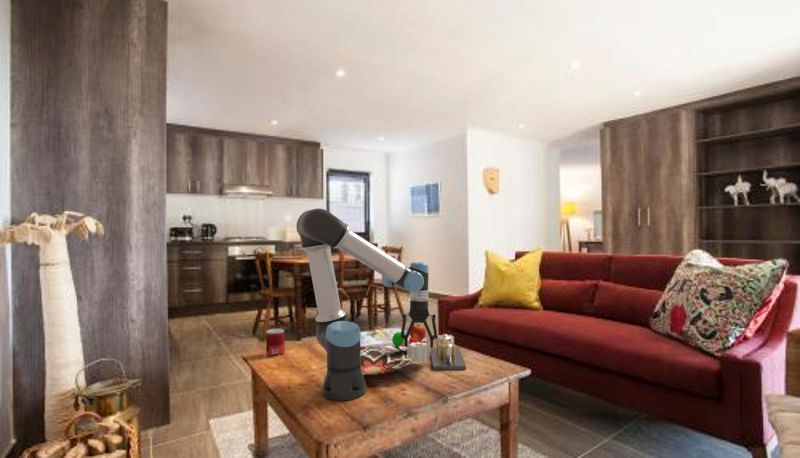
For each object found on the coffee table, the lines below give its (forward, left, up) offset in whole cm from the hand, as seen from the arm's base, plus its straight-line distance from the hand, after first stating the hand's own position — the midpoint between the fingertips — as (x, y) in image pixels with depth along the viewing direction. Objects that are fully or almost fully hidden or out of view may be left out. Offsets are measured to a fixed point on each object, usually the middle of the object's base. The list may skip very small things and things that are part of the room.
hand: (418, 355), depth 167 cm
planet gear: (0, 0, -2) cm, 2 cm away
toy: (-5, +19, -4) cm, 20 cm away
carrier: (+12, +7, -4) cm, 15 cm away
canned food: (-65, +16, -4) cm, 67 cm away
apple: (0, +35, -4) cm, 36 cm away
